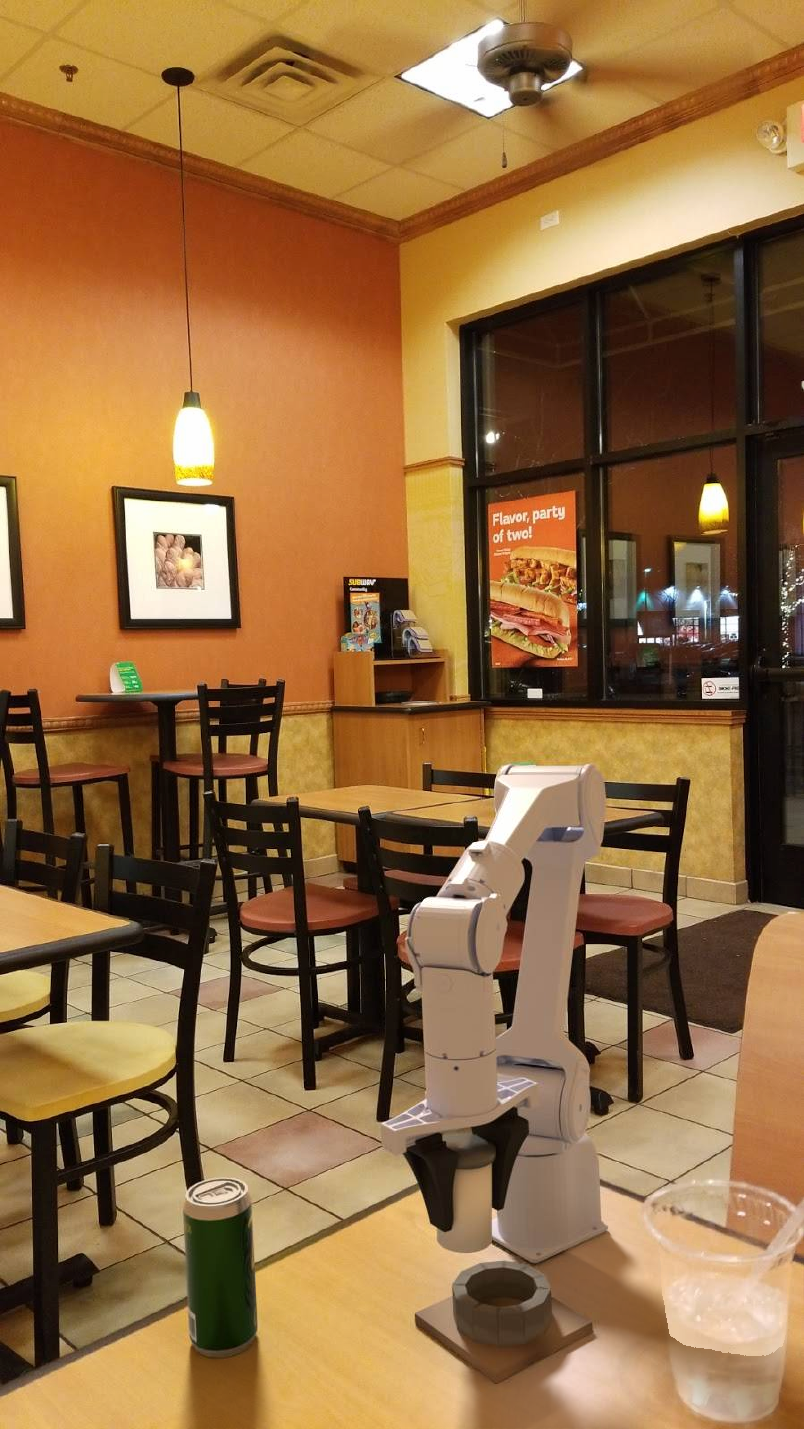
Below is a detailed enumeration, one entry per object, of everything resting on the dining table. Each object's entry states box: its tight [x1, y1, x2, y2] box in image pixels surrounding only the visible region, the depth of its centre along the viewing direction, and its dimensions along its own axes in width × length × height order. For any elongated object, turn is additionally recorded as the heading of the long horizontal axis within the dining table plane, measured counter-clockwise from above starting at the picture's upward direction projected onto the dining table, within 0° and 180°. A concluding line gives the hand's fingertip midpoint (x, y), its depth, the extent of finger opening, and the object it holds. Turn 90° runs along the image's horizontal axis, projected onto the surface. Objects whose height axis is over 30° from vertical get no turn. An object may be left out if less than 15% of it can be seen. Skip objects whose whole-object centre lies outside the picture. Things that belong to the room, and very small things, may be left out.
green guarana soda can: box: [182, 1177, 259, 1359], centre depth 88 cm, size 5×5×12 cm
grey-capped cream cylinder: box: [436, 1133, 496, 1254], centre depth 89 cm, size 5×5×8 cm
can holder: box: [414, 1260, 594, 1384], centre depth 88 cm, size 10×10×3 cm
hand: (467, 1215), depth 89 cm, fingers closed on grey-capped cream cylinder, 5 cm apart
